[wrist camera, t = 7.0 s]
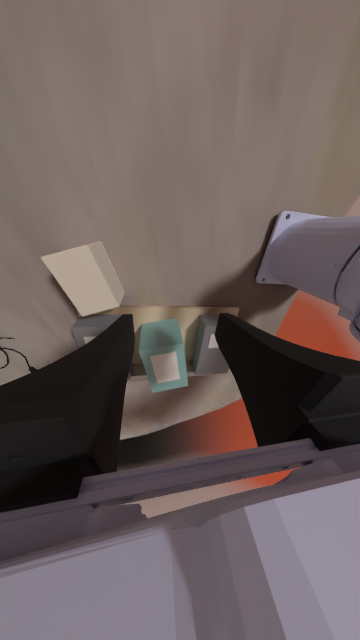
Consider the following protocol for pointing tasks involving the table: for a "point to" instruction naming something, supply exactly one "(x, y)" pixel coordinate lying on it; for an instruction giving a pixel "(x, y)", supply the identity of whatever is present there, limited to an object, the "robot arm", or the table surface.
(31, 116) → the table surface
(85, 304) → the block
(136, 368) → the rail
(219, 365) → the mounted modules
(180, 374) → the teal module
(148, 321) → the board
